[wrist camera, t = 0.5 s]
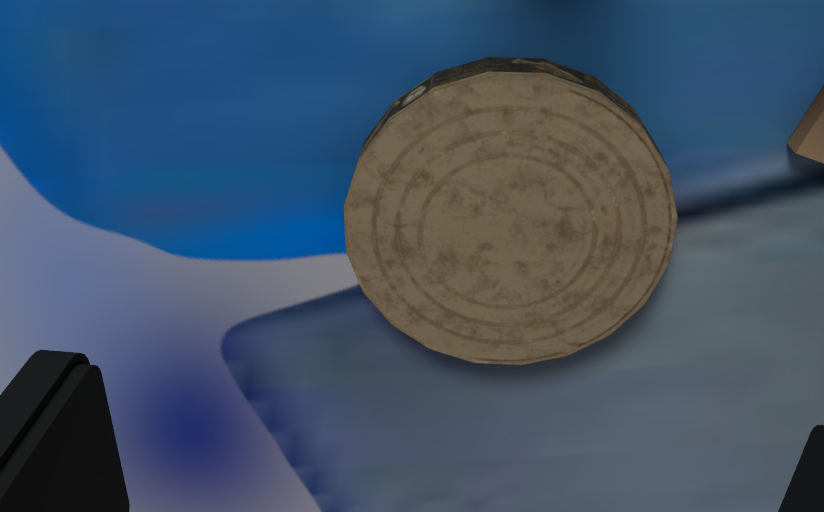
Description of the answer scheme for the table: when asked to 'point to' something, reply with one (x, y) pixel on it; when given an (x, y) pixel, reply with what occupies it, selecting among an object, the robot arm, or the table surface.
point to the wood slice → (509, 212)
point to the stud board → (810, 132)
